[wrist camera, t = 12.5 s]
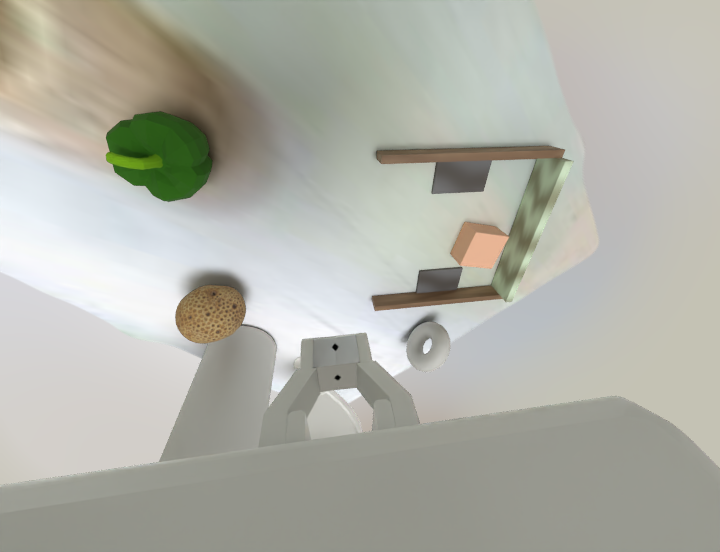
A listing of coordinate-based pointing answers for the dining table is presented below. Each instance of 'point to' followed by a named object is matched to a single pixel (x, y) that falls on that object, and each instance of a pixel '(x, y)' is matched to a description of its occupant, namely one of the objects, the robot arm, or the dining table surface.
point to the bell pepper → (160, 154)
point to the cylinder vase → (226, 397)
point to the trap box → (470, 175)
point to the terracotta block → (478, 245)
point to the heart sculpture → (331, 415)
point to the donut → (438, 348)
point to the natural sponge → (210, 313)
